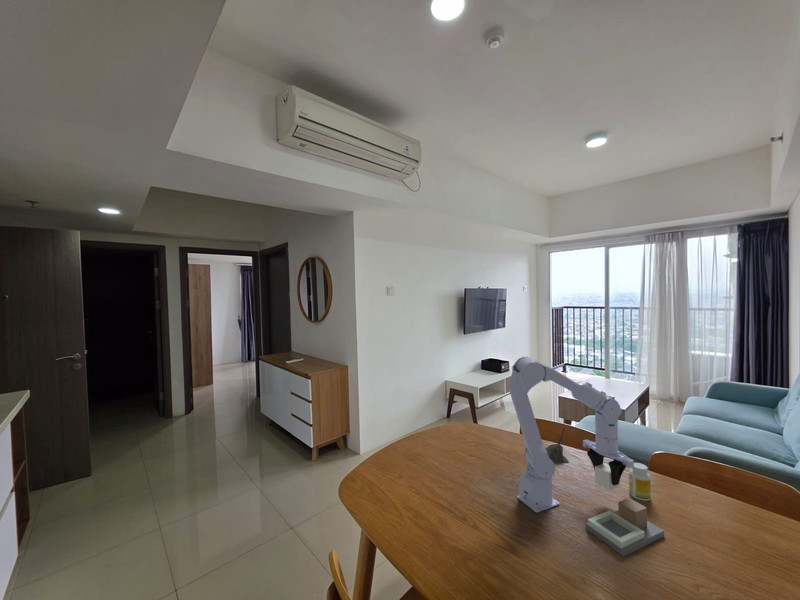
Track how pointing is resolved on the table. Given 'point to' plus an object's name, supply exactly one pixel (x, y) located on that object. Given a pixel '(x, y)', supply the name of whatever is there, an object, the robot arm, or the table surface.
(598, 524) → the base plate
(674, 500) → the table surface
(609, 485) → the block
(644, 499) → the supplement bottle
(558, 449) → the sword in stone
